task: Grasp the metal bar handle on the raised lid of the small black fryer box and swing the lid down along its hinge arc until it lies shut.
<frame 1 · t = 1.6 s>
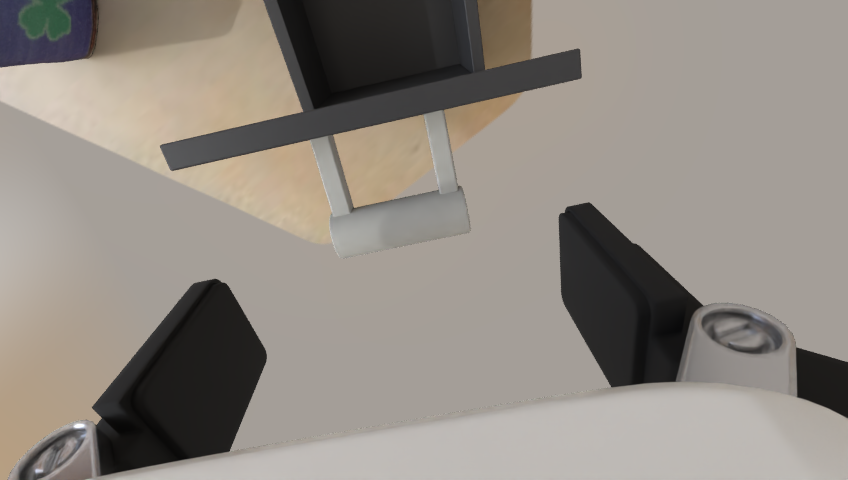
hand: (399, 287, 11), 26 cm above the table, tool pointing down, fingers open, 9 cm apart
fryer lid: (397, 155, 19), point 16 cm above the table, hinge at 80.0°
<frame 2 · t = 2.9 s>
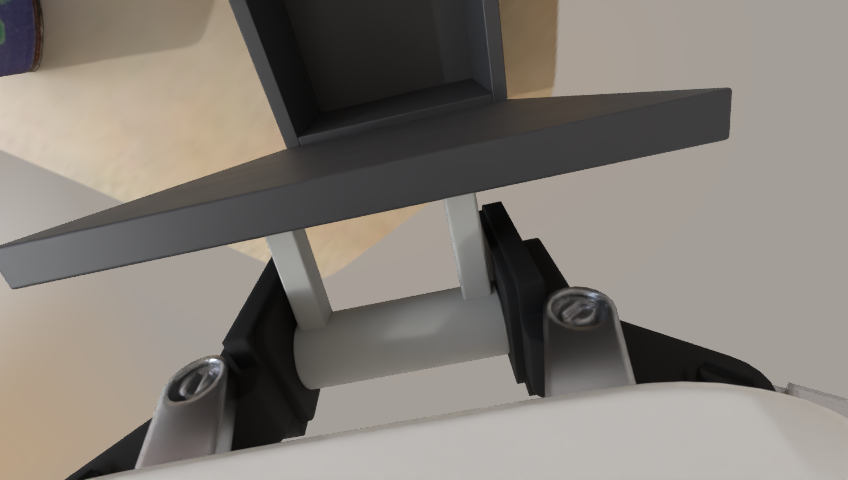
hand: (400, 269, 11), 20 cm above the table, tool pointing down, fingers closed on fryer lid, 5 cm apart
fryer lid: (398, 208, 14), point 16 cm above the table, hinge at 80.0°, touching gripper
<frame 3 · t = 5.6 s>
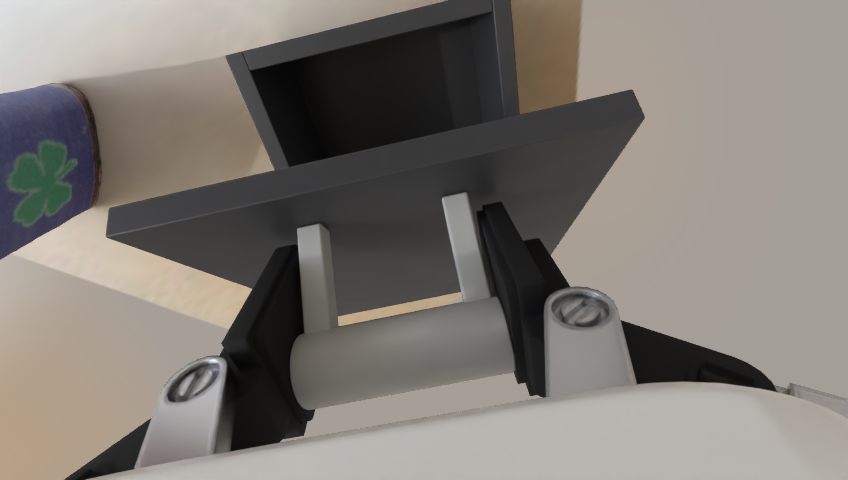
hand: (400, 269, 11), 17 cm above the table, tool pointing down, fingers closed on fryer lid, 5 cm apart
flask: (78, 151, 26), on the table
fryer: (403, 137, 27), on the table
fryer lid: (421, 310, 15), point 15 cm above the table, hinge at 40.2°, touching gripper
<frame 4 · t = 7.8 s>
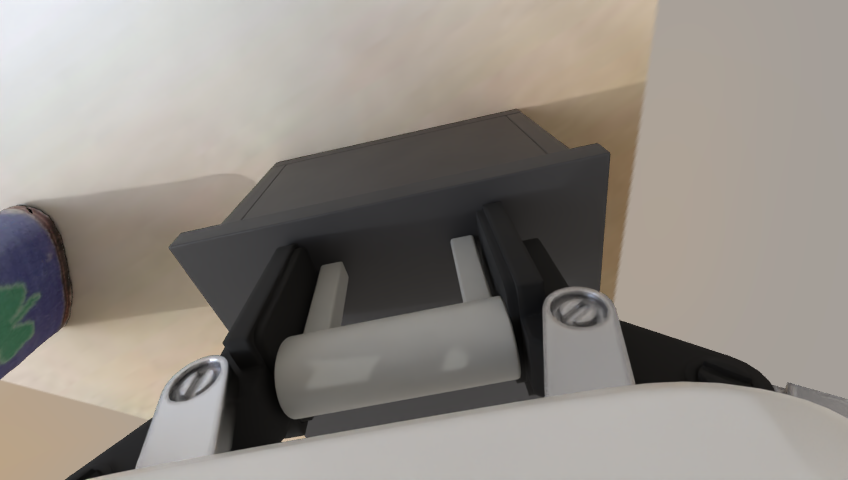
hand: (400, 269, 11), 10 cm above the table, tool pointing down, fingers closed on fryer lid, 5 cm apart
flask: (45, 271, 22), on the table
fryer: (423, 254, 23), on the table
fryer lid: (437, 418, 13), point 11 cm above the table, hinge at 3.9°, touching gripper
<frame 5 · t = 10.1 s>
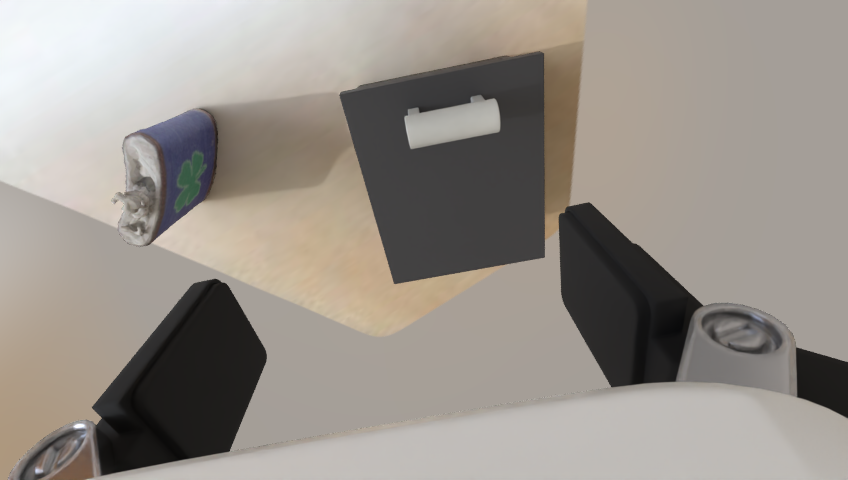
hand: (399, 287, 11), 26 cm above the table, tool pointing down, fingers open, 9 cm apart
flask: (200, 157, 34), on the table
fryer: (445, 154, 35), on the table
fryer lid: (460, 199, 26), point 11 cm above the table, hinge at 3.5°
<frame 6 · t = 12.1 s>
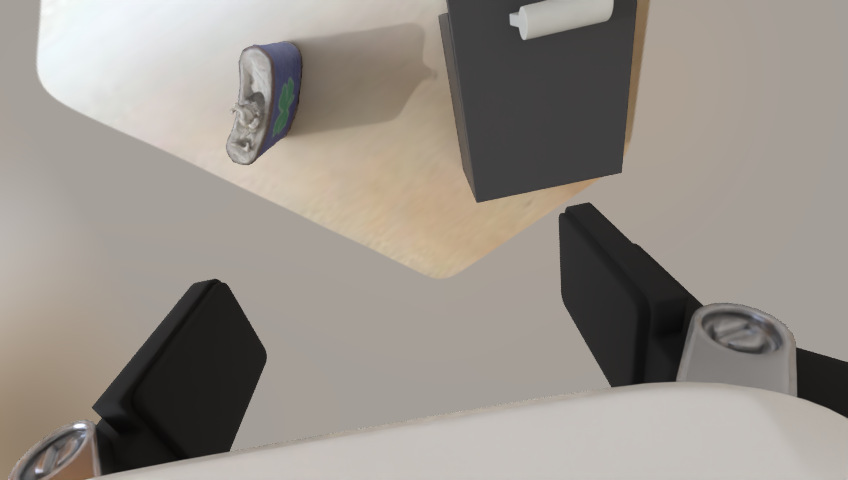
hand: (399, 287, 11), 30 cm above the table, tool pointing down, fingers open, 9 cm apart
flask: (283, 93, 36), on the table
fryer: (515, 85, 37), on the table
fryer lid: (554, 103, 27), point 11 cm above the table, hinge at 3.5°
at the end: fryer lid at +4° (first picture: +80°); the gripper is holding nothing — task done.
